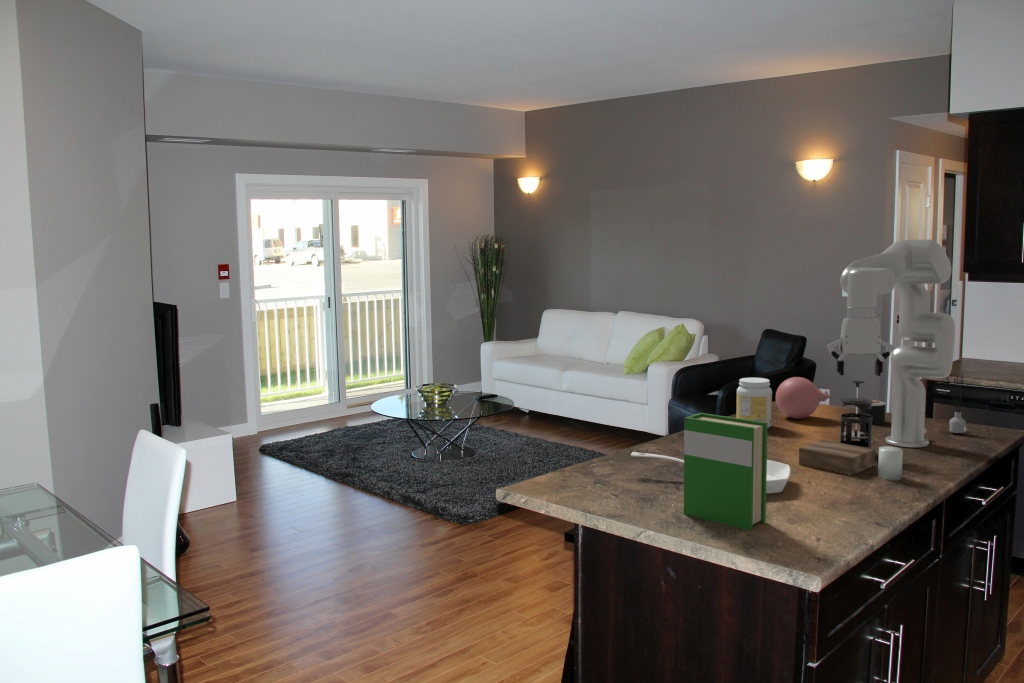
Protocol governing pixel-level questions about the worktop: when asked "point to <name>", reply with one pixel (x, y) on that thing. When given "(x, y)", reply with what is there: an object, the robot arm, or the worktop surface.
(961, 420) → the reed diffuser
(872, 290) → the robot arm
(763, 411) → the supplement tub
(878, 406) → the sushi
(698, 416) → the hardback book
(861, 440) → the french press
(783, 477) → the pan
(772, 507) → the worktop surface
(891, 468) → the white rounded capsule
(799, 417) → the balloon
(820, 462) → the brown wooden block
